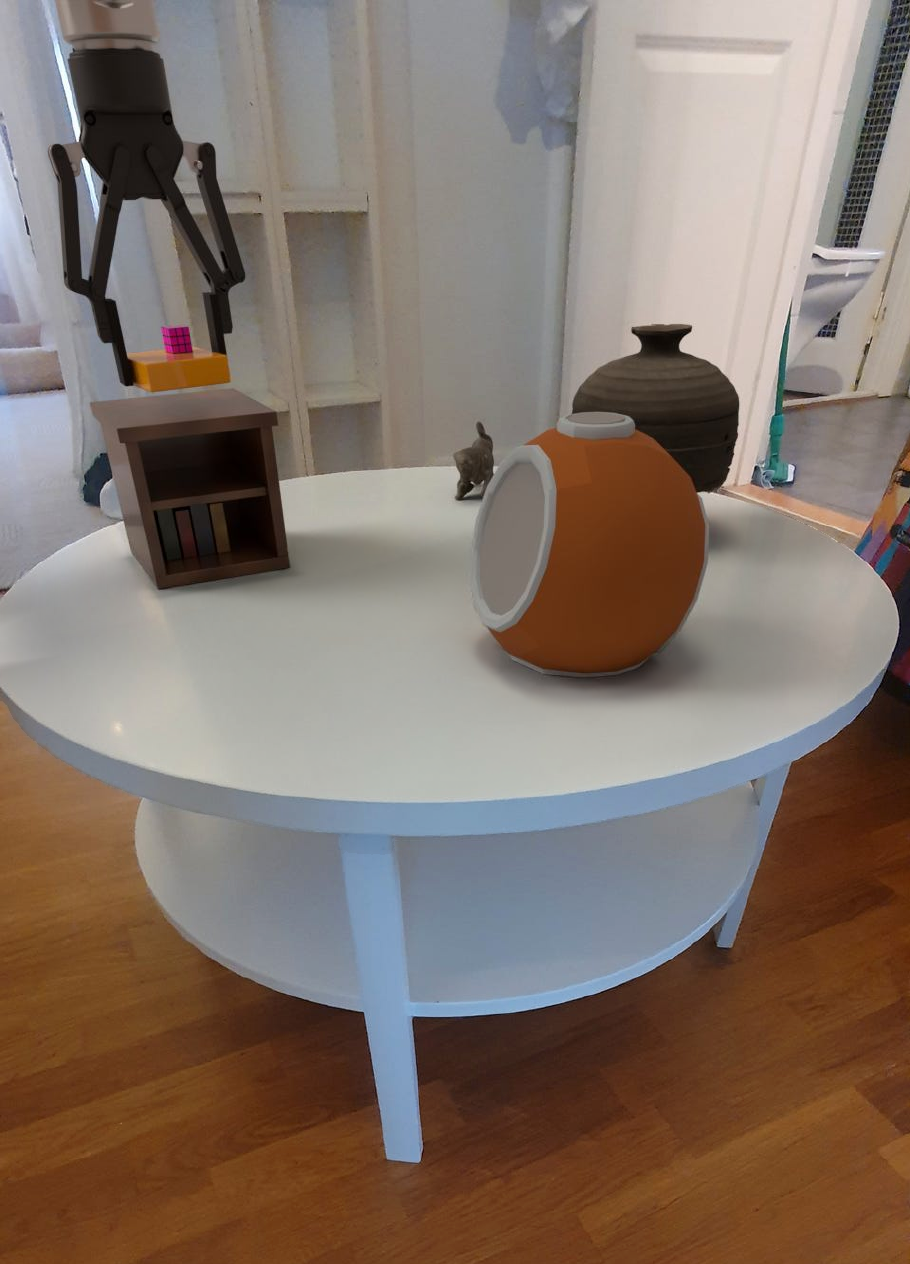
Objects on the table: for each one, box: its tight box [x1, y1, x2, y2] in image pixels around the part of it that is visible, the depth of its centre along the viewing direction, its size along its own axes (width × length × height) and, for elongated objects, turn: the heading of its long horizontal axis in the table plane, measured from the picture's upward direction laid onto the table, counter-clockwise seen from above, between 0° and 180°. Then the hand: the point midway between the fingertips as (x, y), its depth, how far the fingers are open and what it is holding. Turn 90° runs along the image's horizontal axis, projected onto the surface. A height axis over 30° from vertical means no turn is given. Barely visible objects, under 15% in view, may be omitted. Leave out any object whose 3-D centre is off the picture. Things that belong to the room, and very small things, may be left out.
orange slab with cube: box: [127, 324, 232, 393], centre depth 87 cm, size 8×8×4 cm
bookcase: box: [89, 387, 291, 590], centre depth 94 cm, size 15×15×14 cm
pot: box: [571, 323, 740, 494], centre depth 97 cm, size 18×18×20 cm
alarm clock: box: [468, 412, 710, 678], centre depth 73 cm, size 19×18×17 cm
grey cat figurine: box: [452, 421, 495, 501], centre depth 114 cm, size 12×6×7 cm, turn 171°
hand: (175, 379), depth 88 cm, fingers closed on orange slab with cube, 9 cm apart
